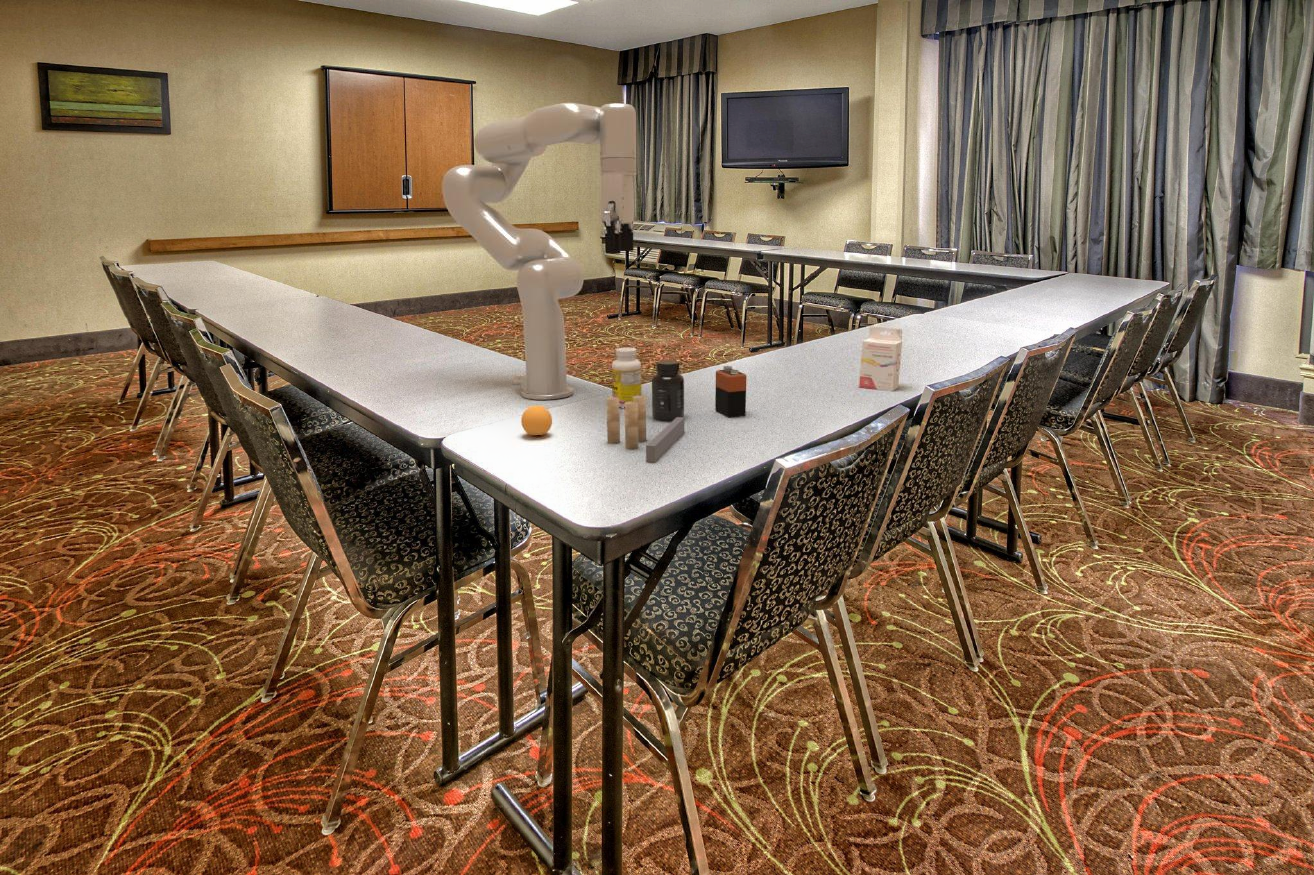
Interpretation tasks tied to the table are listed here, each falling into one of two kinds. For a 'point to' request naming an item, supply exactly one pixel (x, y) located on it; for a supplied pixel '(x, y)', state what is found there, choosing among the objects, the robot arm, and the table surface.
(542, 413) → the ball
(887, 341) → the ink cartridge box
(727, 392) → the battery
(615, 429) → the wooden block
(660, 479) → the table surface
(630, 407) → the pin
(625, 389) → the supplement bottle
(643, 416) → the pin
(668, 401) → the supplement bottle
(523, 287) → the robot arm
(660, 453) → the back wall
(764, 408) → the table surface
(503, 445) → the table surface
